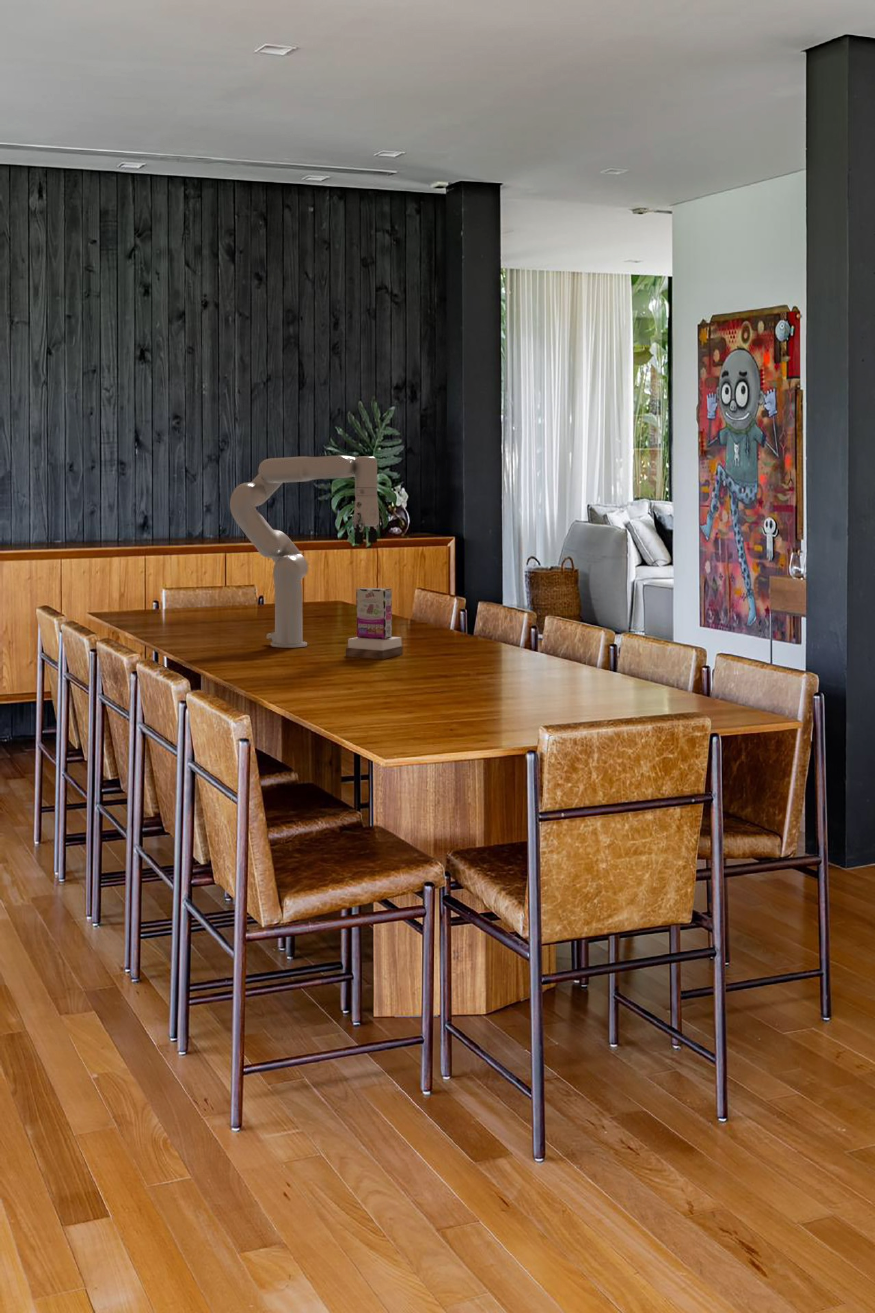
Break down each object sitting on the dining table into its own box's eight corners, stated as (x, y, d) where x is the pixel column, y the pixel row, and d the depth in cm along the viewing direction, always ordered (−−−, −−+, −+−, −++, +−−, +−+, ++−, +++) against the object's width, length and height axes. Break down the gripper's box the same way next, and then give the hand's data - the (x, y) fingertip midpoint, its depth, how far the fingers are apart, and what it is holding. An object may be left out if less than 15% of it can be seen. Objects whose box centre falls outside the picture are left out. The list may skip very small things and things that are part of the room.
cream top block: (348, 647, 469) (348, 638, 468) (367, 643, 480) (367, 634, 480) (382, 650, 463) (382, 641, 463) (401, 646, 475) (401, 637, 474)
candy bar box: (392, 637, 471) (392, 588, 469) (385, 639, 467) (384, 589, 464) (364, 635, 476) (363, 587, 474) (356, 637, 472) (355, 588, 470)
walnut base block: (345, 658, 469) (345, 647, 469) (366, 653, 482) (366, 643, 481) (383, 661, 463) (383, 650, 463) (402, 656, 476) (402, 646, 475)
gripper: (363, 493, 473) (363, 544, 476) (387, 492, 489) (387, 542, 491) (343, 493, 477) (343, 544, 479) (368, 492, 492) (368, 541, 494)
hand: (365, 543), depth 485 cm, fingers open, 9 cm apart
